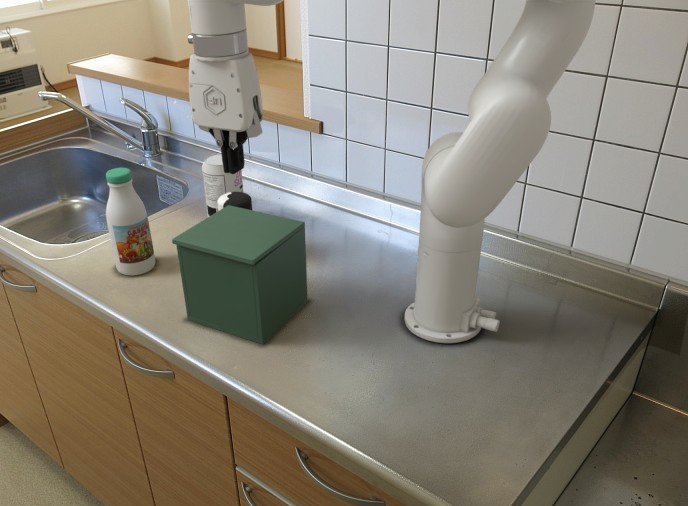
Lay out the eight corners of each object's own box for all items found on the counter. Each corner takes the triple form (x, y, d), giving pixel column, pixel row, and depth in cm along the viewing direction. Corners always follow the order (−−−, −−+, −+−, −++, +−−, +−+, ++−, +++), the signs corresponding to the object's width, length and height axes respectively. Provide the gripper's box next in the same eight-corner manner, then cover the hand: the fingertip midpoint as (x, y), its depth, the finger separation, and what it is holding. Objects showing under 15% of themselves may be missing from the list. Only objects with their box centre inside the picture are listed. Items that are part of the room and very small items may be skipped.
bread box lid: (253, 265, 100) (252, 260, 100) (172, 243, 107) (171, 239, 107) (305, 226, 111) (304, 221, 111) (228, 209, 118) (228, 205, 118)
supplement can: (205, 219, 150) (197, 155, 142) (241, 213, 152) (235, 149, 144) (213, 234, 143) (205, 168, 135) (250, 228, 145) (244, 162, 137)
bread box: (262, 344, 109) (256, 264, 101) (187, 320, 116) (175, 243, 108) (307, 301, 119) (305, 226, 111) (236, 281, 126) (228, 209, 118)
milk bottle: (109, 273, 131) (88, 177, 120) (129, 255, 137) (110, 162, 127) (144, 278, 129) (125, 180, 118) (162, 259, 135) (147, 165, 124)
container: (261, 246, 138) (256, 187, 131) (256, 265, 131) (251, 204, 124) (224, 246, 138) (217, 188, 132) (217, 265, 132) (210, 204, 125)
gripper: (161, 47, 93) (180, 172, 103) (250, 53, 86) (262, 186, 96) (194, 36, 98) (209, 156, 108) (280, 41, 92) (289, 168, 101)
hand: (234, 170), depth 102 cm, fingers closed
